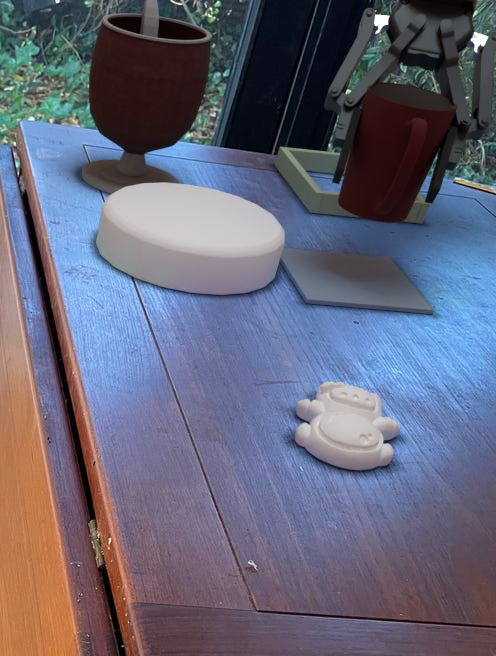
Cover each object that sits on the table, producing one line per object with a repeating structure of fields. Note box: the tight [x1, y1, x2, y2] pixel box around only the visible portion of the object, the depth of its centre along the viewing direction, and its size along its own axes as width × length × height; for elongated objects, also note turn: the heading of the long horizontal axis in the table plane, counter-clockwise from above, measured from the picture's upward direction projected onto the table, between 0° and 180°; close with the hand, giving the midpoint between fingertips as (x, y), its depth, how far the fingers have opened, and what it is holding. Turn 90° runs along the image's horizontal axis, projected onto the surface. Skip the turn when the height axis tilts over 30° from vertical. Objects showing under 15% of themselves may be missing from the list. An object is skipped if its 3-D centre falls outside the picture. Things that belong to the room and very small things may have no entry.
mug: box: [338, 82, 458, 224], centre depth 101 cm, size 12×9×11 cm
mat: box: [279, 246, 435, 315], centre depth 109 cm, size 14×14×1 cm
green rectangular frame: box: [274, 146, 431, 224], centre depth 132 cm, size 15×18×2 cm
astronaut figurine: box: [294, 381, 402, 471], centre depth 83 cm, size 9×12×3 cm
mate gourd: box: [81, 0, 213, 195], centre depth 120 cm, size 16×14×20 cm
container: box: [95, 183, 286, 296], centre depth 108 cm, size 20×20×5 cm
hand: (385, 186), depth 100 cm, fingers closed on mug, 9 cm apart
